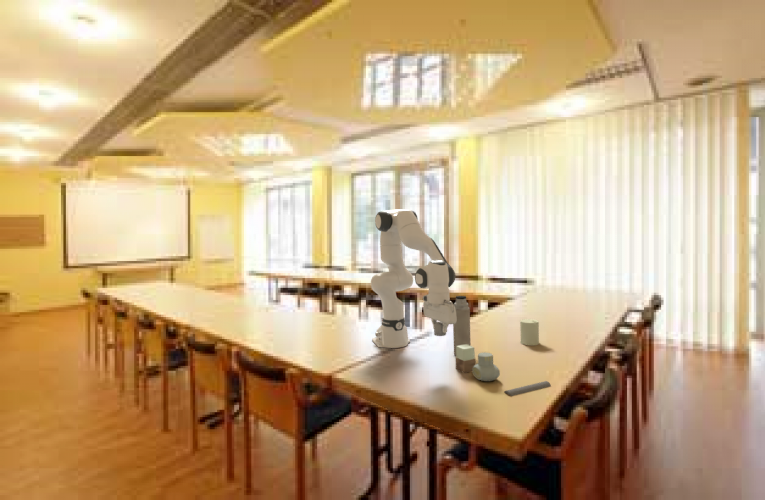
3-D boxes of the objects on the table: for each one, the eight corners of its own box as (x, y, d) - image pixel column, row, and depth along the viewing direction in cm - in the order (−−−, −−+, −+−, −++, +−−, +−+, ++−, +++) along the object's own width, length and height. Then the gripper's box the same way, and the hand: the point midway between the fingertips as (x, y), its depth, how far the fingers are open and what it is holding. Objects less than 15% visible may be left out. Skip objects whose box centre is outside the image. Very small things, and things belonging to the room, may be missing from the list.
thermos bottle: (455, 350, 203) (453, 294, 201) (471, 351, 200) (470, 295, 199) (452, 355, 195) (451, 297, 194) (469, 356, 193) (468, 297, 191)
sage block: (456, 357, 177) (456, 346, 177) (466, 355, 180) (466, 344, 179) (464, 361, 172) (463, 349, 172) (474, 358, 175) (474, 347, 175)
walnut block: (455, 368, 178) (455, 357, 177) (467, 366, 180) (466, 355, 180) (464, 373, 172) (464, 361, 172) (475, 370, 175) (475, 358, 175)
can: (533, 346, 205) (533, 322, 205) (516, 343, 212) (516, 320, 212) (542, 342, 212) (542, 319, 211) (526, 339, 218) (525, 317, 218)
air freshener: (502, 382, 161) (502, 357, 160) (483, 385, 158) (483, 359, 158) (487, 373, 171) (487, 349, 171) (470, 375, 169) (469, 351, 168)
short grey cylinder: (431, 334, 176) (431, 322, 175) (441, 332, 178) (441, 321, 178) (438, 336, 171) (438, 324, 171) (448, 334, 174) (448, 323, 173)
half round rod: (551, 387, 155) (551, 383, 155) (511, 398, 147) (511, 393, 147) (543, 384, 159) (543, 379, 159) (503, 393, 151) (503, 389, 151)
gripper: (459, 301, 166) (460, 334, 167) (432, 294, 184) (433, 325, 185) (446, 302, 163) (448, 337, 164) (420, 296, 182) (421, 327, 182)
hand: (440, 330), depth 175 cm, fingers closed on short grey cylinder, 5 cm apart
